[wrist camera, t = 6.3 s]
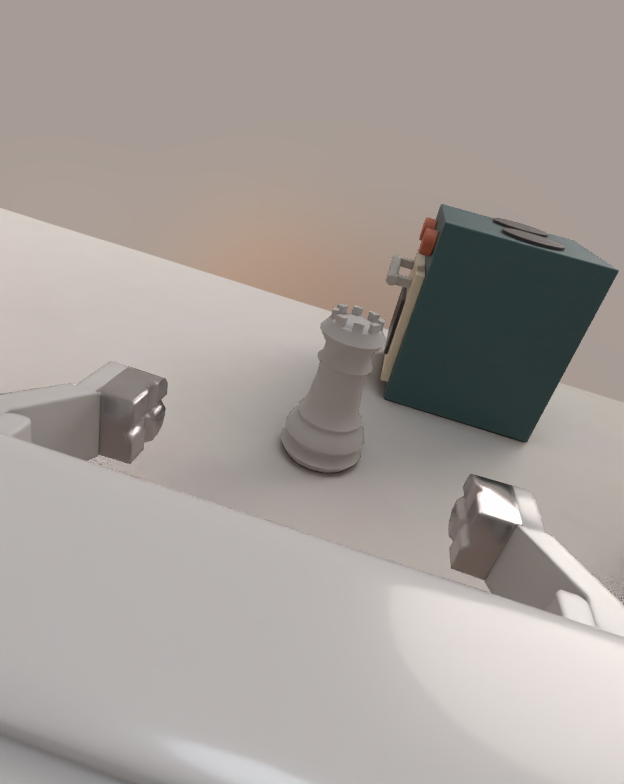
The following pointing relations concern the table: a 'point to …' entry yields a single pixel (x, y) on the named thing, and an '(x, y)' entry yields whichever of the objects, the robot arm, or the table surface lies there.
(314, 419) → the rook chess piece
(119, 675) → the robot arm
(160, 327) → the table surface
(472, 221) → the toy oven
